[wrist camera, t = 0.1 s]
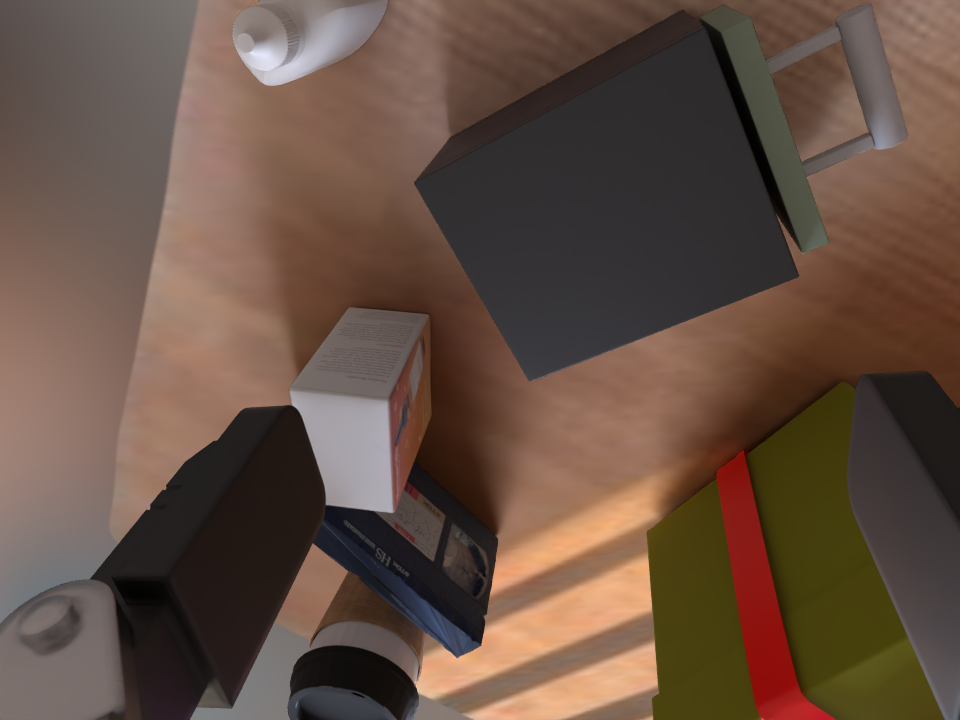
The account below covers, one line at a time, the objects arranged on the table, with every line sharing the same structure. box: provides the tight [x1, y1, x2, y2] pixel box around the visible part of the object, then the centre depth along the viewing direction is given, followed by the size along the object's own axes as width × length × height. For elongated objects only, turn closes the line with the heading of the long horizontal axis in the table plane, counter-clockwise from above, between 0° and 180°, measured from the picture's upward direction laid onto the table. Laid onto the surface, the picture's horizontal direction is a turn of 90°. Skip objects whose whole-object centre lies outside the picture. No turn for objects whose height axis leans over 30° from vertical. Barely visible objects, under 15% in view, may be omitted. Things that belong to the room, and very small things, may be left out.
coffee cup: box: [288, 571, 426, 720], centre depth 51 cm, size 8×8×15 cm
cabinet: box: [414, 10, 799, 382], centre depth 36 cm, size 14×12×9 cm
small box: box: [289, 307, 432, 513], centre depth 44 cm, size 8×6×10 cm
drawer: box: [700, 4, 908, 253], centre depth 35 cm, size 17×10×7 cm, turn 119°
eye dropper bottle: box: [232, 0, 388, 86], centre depth 33 cm, size 4×6×12 cm
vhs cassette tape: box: [313, 462, 498, 658], centre depth 49 cm, size 18×3×10 cm, turn 42°
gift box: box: [647, 381, 945, 720], centre depth 39 cm, size 21×21×25 cm
